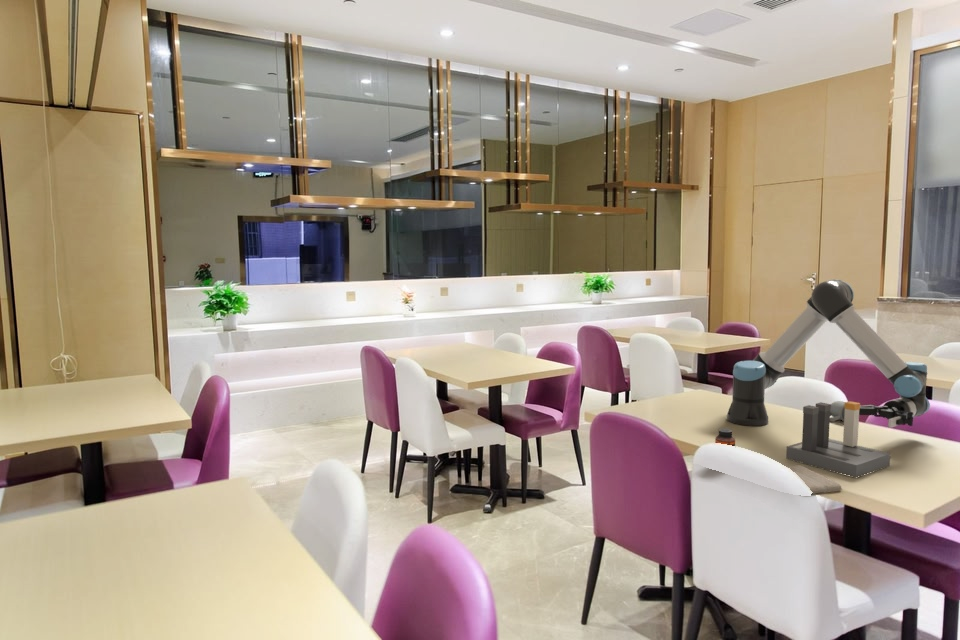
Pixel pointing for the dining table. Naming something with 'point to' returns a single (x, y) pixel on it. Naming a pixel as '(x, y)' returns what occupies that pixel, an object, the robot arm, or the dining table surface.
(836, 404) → the ceramic mug
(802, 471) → the washcloth
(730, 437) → the supplement bottle
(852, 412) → the handle
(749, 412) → the robot arm
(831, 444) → the grey peg stand
